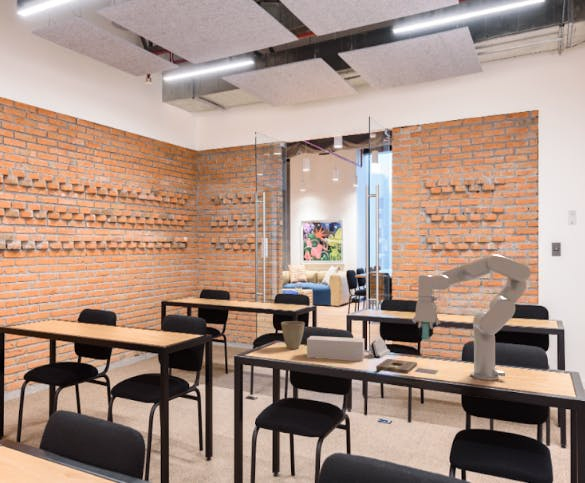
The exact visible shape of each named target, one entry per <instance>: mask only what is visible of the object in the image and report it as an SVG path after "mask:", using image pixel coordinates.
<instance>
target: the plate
mask: <svg viewBox="0 0 585 483" xmlns="http://www.w3.org/2000/svg"><path fill="white" fill-rule="evenodd" d="M414 372H415V373H421V374H430V375H436V374H437V373H438V372H439V370H437V369H429V368H421V367H418V368H417V369H416V370H415V371H414Z"/></svg>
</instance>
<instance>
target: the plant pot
mask: <svg viewBox="0 0 585 483" xmlns="http://www.w3.org/2000/svg"><path fill="white" fill-rule="evenodd" d="M305 325H306V324H305V322H304V321H300V320H299V321H298V320H292V321H290V320H289V321H282V322H281V323H280V326H281V331H282V332H281V333H282V336H283V340H284V343H285V346H286V348H287V349H288V350H298V349H300V346H301V343H302V339H303V336H304V331H305ZM297 348H298V349H297Z"/></svg>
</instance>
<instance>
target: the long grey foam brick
mask: <svg viewBox="0 0 585 483" xmlns="http://www.w3.org/2000/svg"><path fill="white" fill-rule="evenodd" d="M307 357H318V358H317V359H322V358H329V359H328V360H338V359H340V361H357V362H364V360H365V338H360V337H359V338H358V337H342V336H341V337H338V336H321V335H310V336H309V337H308V338H306V358H307Z"/></svg>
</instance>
